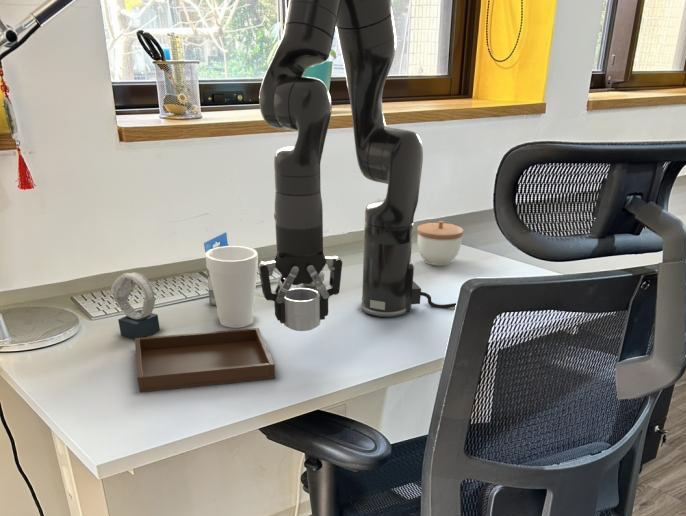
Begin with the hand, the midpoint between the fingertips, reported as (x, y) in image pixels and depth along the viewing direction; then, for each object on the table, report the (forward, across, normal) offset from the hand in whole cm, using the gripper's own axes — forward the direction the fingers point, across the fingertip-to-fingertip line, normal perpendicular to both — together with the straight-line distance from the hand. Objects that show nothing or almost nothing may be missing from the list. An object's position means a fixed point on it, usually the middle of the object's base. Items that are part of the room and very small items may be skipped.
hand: (302, 319), depth 122 cm
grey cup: (+1, 0, 0) cm, 1 cm away
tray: (+6, -18, -1) cm, 19 cm away
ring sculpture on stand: (+6, -27, +15) cm, 32 cm away
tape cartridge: (+7, -9, +29) cm, 31 cm away
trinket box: (+7, +43, +44) cm, 61 cm away
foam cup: (+6, -9, +17) cm, 20 cm away
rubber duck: (+7, +10, +34) cm, 36 cm away
